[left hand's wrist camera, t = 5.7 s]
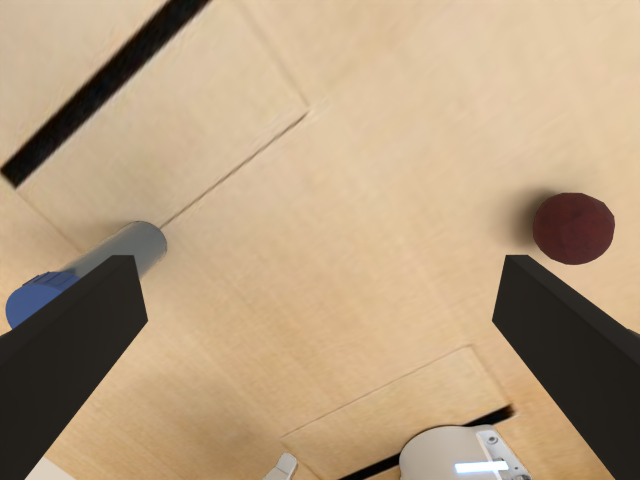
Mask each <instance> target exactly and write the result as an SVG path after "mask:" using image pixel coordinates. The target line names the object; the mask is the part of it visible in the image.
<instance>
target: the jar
mask: <svg viewBox="0 0 640 480" xmlns="http://www.w3.org/2000/svg"><path fill="white" fill-rule="evenodd" d="M166 251H167V243H166V239H165V237H164V235H163V234H162V232H161V231H160V230H159V229H158V228H157V227H155V226H154V225H152V224H149V223H146V222H132V223H130V224H128V225H127V226H125V227H123V228H122V229H120V230H119V231H117V232H116V233H114V234H113V235H111V236H110V237H108V238H106V239H105V240H103V241H102V242H100V243H99V244H97V245H96V246H94V247H93V248H91V249H89V250H88V251H86V252H85V253H83V254H82V255H80V256H79V257H77V258H76V259H74V260H72V261H71V262H69V263H68V264H66V265H65V266H63V267H62V268H60V269H59V270H57V271H55V272H60V271H61V272H66V273H70V274H73V275H76V276H78V277H80V278H82V277H83V276H85V275H86V274H87V273H89V272H90V271H91V270H93V269H94V268H96V267H97V266H98V265H100V264H101V263H102V262H104V261H105V260H106V259H108V258H109V257H110V256H112V255H134V257H135V261H136V266H137V271H138V276H139V280H141V279H142V278H143V277H144V276H145V275H146V274H147V273H148V272H149V271H150V270H151V269H152V268H153V267H154V266H155V265H156V264H157V263H158V262H159V261H160V260H161V259H162V258H163V257H164V256H165V254H166Z"/></svg>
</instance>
